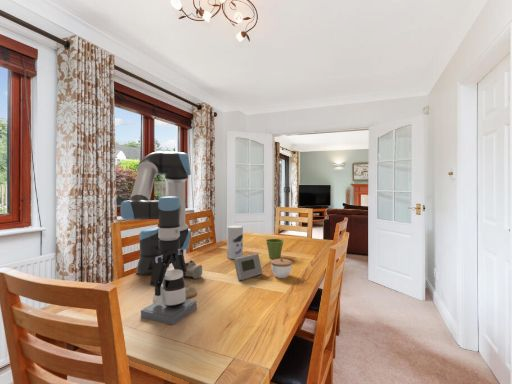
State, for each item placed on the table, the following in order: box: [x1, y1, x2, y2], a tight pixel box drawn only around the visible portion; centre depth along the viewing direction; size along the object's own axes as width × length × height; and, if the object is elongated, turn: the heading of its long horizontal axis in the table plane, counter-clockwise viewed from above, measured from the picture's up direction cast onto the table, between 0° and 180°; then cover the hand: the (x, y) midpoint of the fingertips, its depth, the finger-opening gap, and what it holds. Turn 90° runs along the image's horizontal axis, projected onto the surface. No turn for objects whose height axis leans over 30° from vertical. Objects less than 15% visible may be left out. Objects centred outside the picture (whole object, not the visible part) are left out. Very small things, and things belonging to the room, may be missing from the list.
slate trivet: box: [140, 298, 197, 326], centre depth 102 cm, size 14×14×3 cm
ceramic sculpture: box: [182, 260, 203, 280], centre depth 141 cm, size 11×9×15 cm
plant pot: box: [265, 238, 285, 260], centre depth 177 cm, size 12×12×11 cm
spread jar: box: [152, 268, 186, 308], centre depth 101 cm, size 12×11×12 cm
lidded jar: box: [270, 257, 293, 279], centre depth 142 cm, size 11×11×9 cm
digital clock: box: [233, 252, 263, 281], centre depth 142 cm, size 16×9×11 cm, turn 120°
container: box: [226, 225, 244, 260], centre depth 177 cm, size 10×10×20 cm
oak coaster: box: [185, 286, 198, 300], centre depth 119 cm, size 10×10×1 cm
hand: (169, 297), depth 102 cm, fingers closed on spread jar, 10 cm apart
